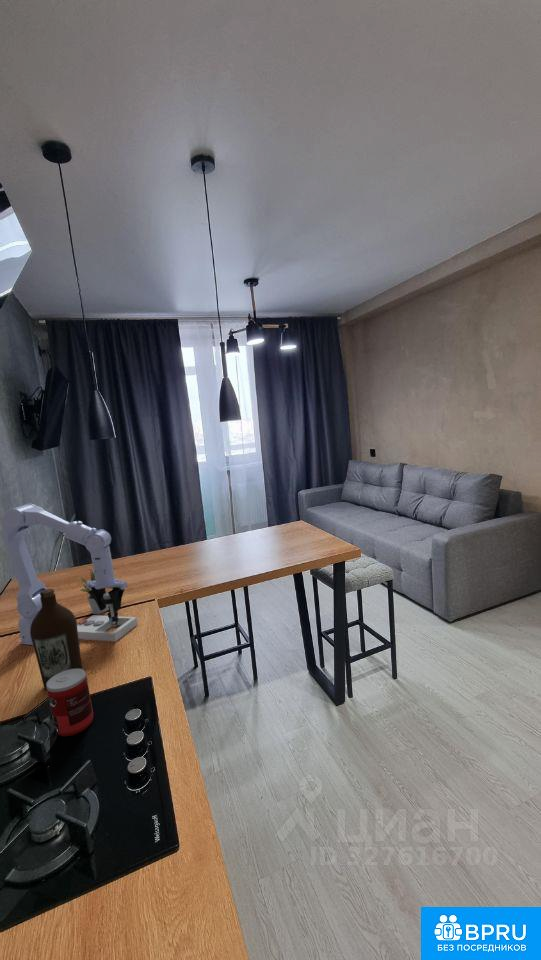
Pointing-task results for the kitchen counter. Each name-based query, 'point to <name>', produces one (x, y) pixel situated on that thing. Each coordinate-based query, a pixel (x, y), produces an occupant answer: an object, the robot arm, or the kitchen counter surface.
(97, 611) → the house plant
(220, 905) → the kitchen counter surface
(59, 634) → the olive oil
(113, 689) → the kitchen counter surface
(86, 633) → the control panel
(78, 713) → the canned food
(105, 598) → the push button
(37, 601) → the robot arm
